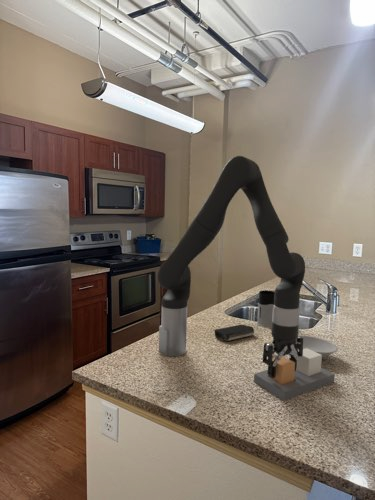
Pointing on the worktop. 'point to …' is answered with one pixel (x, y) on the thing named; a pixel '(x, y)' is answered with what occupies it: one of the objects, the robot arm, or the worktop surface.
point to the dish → (318, 345)
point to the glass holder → (264, 308)
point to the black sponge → (234, 332)
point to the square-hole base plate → (298, 377)
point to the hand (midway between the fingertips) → (282, 373)
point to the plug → (284, 371)
